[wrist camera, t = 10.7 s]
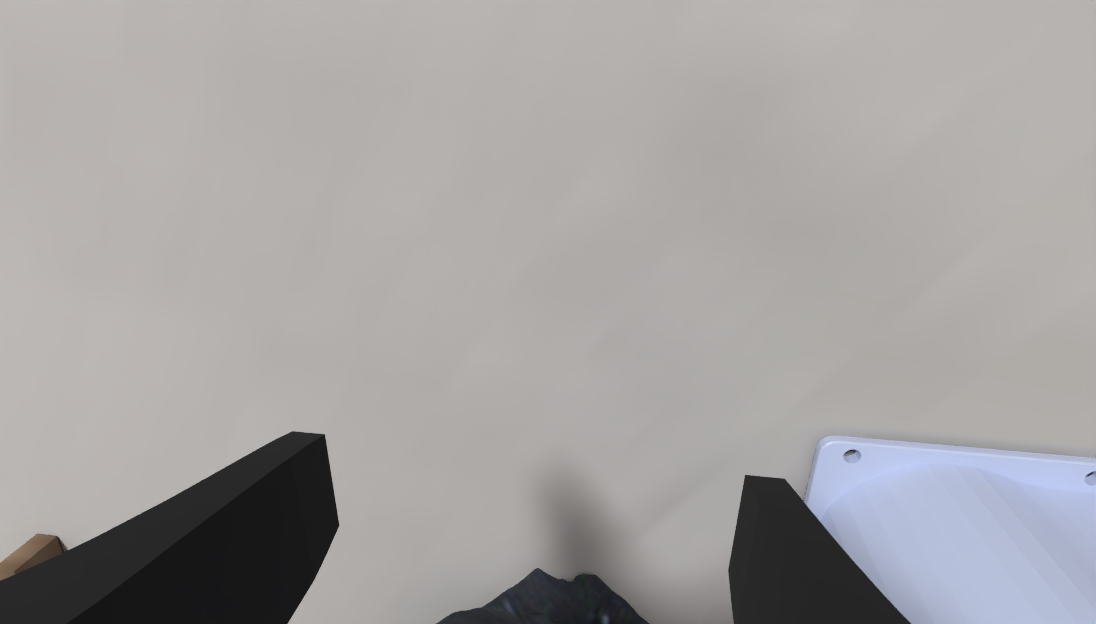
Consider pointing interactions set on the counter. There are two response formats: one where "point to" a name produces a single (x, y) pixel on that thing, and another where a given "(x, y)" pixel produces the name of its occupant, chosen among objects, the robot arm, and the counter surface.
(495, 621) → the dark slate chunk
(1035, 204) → the counter surface
